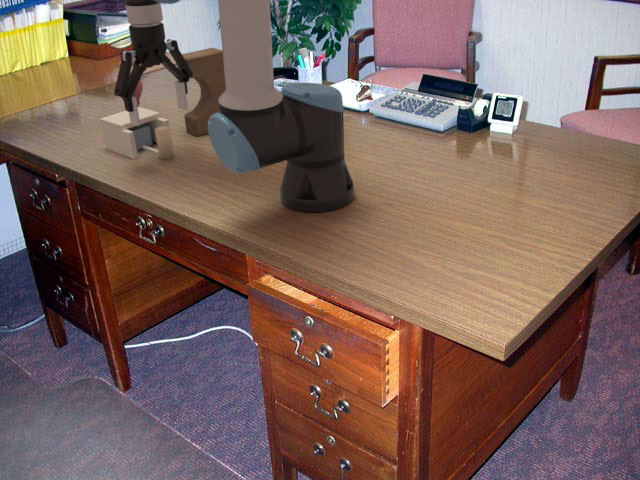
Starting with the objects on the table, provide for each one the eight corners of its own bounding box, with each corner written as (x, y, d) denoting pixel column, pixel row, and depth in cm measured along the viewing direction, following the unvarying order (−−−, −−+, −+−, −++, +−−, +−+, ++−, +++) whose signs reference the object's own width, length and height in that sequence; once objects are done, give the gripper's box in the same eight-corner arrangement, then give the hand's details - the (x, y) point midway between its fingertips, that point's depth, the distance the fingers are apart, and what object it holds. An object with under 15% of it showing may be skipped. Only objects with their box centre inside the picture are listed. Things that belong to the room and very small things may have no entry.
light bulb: (141, 120, 195) (134, 77, 189) (117, 119, 196) (109, 77, 190) (151, 112, 201) (144, 70, 195) (127, 111, 202) (120, 70, 197)
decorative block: (196, 137, 181) (185, 58, 171) (185, 131, 185) (174, 55, 175) (233, 127, 187) (225, 50, 177) (222, 121, 191) (213, 47, 181)
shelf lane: (105, 148, 177) (99, 118, 173) (143, 135, 184) (138, 106, 180) (133, 158, 169) (128, 128, 166) (172, 144, 177) (167, 115, 173)
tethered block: (118, 146, 177) (113, 119, 174) (138, 139, 181) (133, 113, 178) (160, 162, 167) (156, 133, 163) (181, 154, 170) (176, 126, 167)
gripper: (180, 11, 165) (191, 99, 175) (86, 32, 149) (104, 127, 159) (201, 14, 161) (211, 105, 171) (106, 36, 145) (124, 135, 155)
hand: (159, 116), depth 165 cm, fingers open, 13 cm apart
